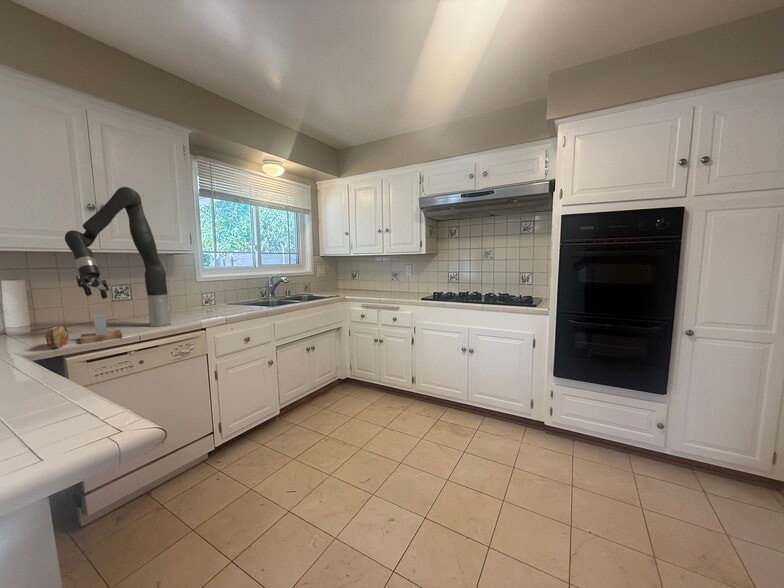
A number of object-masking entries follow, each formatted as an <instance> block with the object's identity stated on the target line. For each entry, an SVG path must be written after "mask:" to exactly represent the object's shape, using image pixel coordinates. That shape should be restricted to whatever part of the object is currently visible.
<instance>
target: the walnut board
mask: <svg viewBox="0 0 784 588" xmlns="http://www.w3.org/2000/svg"><path fill="white" fill-rule="evenodd" d="M121 339H123V334H122V331H121V329H116V330H115V329H114V330H107V334H106V335H98V336H96V334H95V332H90V333H83V334H82V333H81V334H80V345H83V344H91V343H98V342H106V341H113V340H121Z"/></svg>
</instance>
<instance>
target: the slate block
mask: <svg viewBox="0 0 784 588" xmlns="http://www.w3.org/2000/svg"><path fill="white" fill-rule="evenodd" d="M106 319H107V317H106V314H105V313H104V314H94V315H93V324H94V333H95V334H96V336H98V335H106V334H107V331H108V329H107V327H108V326H107V320H106Z"/></svg>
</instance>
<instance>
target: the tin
mask: <svg viewBox="0 0 784 588" xmlns="http://www.w3.org/2000/svg"><path fill="white" fill-rule="evenodd" d="M45 340H46V345H47V347H48V348H49V349H51V350H54V349H61V348H62V347H64V346H65V345H67V344H68V342H69V332H68V330H67V327H66V326H64V325H59V326H58V325H57V326H54V327H52V328H49V329H47V330H46V332H45ZM63 345H64V346H63Z"/></svg>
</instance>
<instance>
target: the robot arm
mask: <svg viewBox="0 0 784 588" xmlns="http://www.w3.org/2000/svg"><path fill="white" fill-rule="evenodd" d="M123 209H125V212H126V213H127V218H128V225H129V232H130V237H131V238H132V242H133V244H134V246H135V248H136V250H137V252H138V253H139V255H140V257H141V260H142V261H143V264H144V268H145V272H144V282H145V289H146V296H147V297H146V298H147V306H148V308H147V309H148V317H149V326H150V327H163V325H165V326H168V325H169V324H170V325H172V322H171V320H172V319H171V318H172V317H171V309H170V305H169V295H168V287H167V286H168V285H167V271H166V270H165V268H164V265H162V262H161V260H160V257H159V254H158V249H157V245H156V241H155V238H154V235H153V232H152V229H151V227H150V224H149V222H148V220H147V217H146V216H145V211H144V207H143V203H142V199H141V196H140V194H139V193H138V192H137V191H136V190H135V189H133V188H131V187H127V186H122V187H120V188H117V190H116V191H115V192H114V193H113V194H112V196H111V197H110V198H109V199H108V201H107V202H105V204H104V205H103V206H102V207H101V208H100V209H99V210H98V211H97V212H95V214H93V215H91V217H90V218H88V219H87V220H86V221H84V223H83V224H82V228H83V229H84V230H85V231H84V232H83V233H82V232H80V231H78V230H73V229H72V230H69V231H67V232H66V233H65V235H64V240H65V243H66V245H67V247H68V248H69V250H70V251H71V252H72V253H73V256H74V260H75V266H76V268H77V272H78V275H76V276H75V279H76V283H77V286H78V288H81V289H82V290H83V291H84V294H85V295H86V297H89V296H92V295H93V292H92V290H91V289H92V288H94V289H96V290H97V291H99V294H100V297H101V299H103V300H105V299H107V298H108V294H107V292H108V291H110V288H109V284H108V283H107V280H106V279H102V280H101V279H100V277H101V271H100V270H99V269H100V268H99V266H98V263H97V261H96V259H95V256H94V253H93V251H92V249H91V248H90V246H91V245H93V243H94V242H95V240H96V239H97V237H98V235H99V234H100V233H101V232H102V231H104V229H106V228H107V226H109V225H110V223H111V222H112V221H113V220H114V219H115V217H116V216H117V214H119V213H120V212H121V211H123ZM91 287H92V288H91Z"/></svg>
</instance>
